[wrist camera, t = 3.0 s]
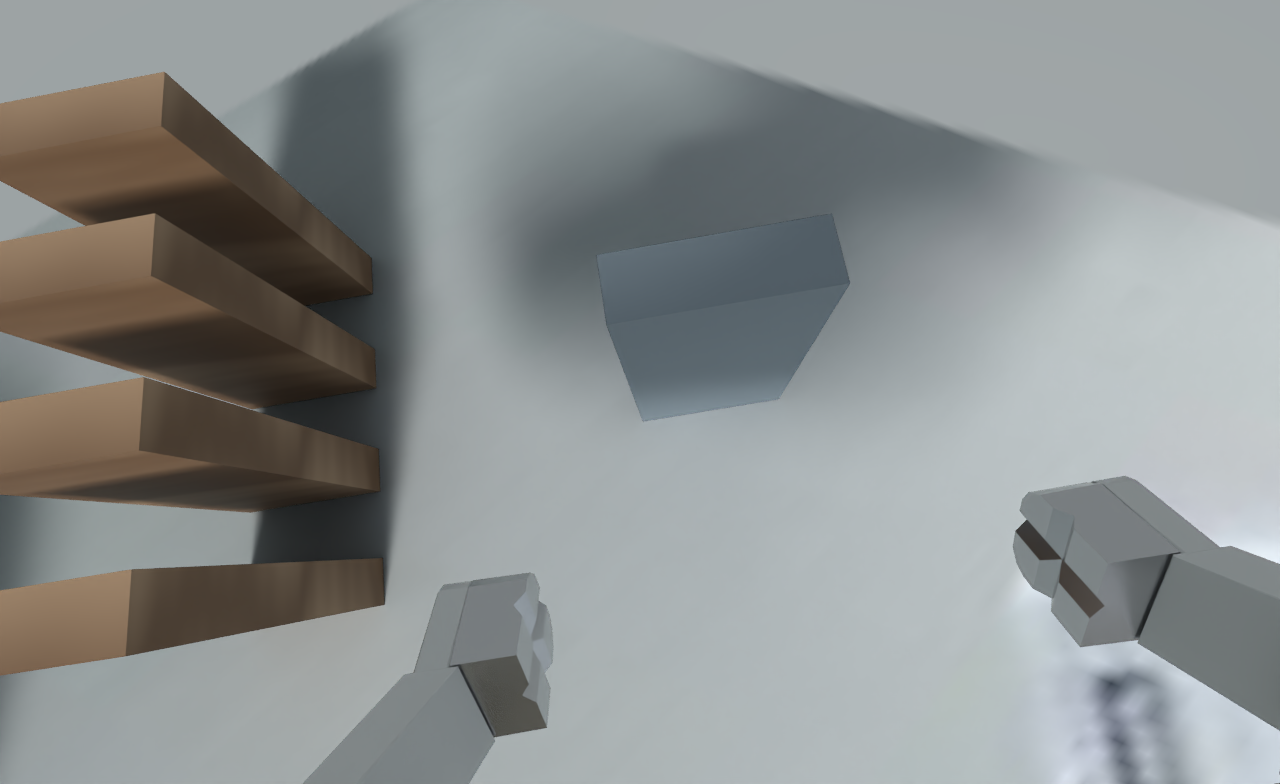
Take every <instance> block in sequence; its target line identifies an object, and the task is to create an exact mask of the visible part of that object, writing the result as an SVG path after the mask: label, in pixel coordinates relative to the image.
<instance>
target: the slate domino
mask: <svg viewBox="0 0 1280 784" xmlns="http://www.w3.org/2000/svg"><path fill="white" fill-rule="evenodd" d="M596 256H597V263H598V270H599V277H600V284H601V291H602V298H603V305H604V311H605V318H606V325H607V328H608V330H609V333H610V336H611V338H612V341H613V343H614V346H615V349H616V351H617V354H618V357H619V359H620V362H621V365H622V367H623V370H624V373H625V375H626V378H627V381H628V383H629V386H630V388H631V391H632V394H633V396H634V399H635V402H636V404H637V407H638V410H639V412H640V415H641V418H642V420H643V421H648V420H655V419H661V418H667V417H673V416H679V415H685V414H691V413H697V412H703V411H709V410H715V409H722V408H728V407H734V406H740V405H746V404H752V403H758V402H764V401H770V400H776V399H779V397H780V396H781V394H782V393H783V391H784V389H785V388H786V386H787V384H788V383H789V381H790V380H791V378H792V376H793V375H794V373H795V372H796V370H797V368H798V367H799V365H800V363H801V362H802V360H803V359H804V357H805V355H806V354H807V352H808V350H809V349H810V347H811V346H812V344H813V342H814V341H815V339H816V338H817V336H818V334H819V333H820V331H821V329H822V328H823V326H824V325H825V323H826V321H827V320H828V318H829V316H830V315H831V313H832V312H833V310H834V308H835V307H836V305H837V304H838V302H839V300H840V299H841V297H842V295H843V294H844V292H845V291H846V289H847V287H848V286H849V284H850V281H849V277H848V273H847V269H846V266H845V262H844V258H843V254H842V250H841V247H840V243H839V239H838V235H837V231H836V227H835V224H834V220H833V216H832V214H826V215H820V216H815V217H809V218H803V219H797V220H792V221H786V222H780V223H775V224H769V225H763V226H758V227H752V228H746V229H741V230H735V231H729V232H724V233H718V234H712V235H707V236H701V237H695V238H689V239H684V240H678V241H672V242H667V243H661V244H655V245H650V246H644V247H638V248H633V249H627V250H621V251H616V252H610V253H604V254H599V255H596Z"/></svg>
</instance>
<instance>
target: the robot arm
mask: <svg viewBox="0 0 1280 784" xmlns="http://www.w3.org/2000/svg"><path fill="white" fill-rule="evenodd" d="M1020 512H1021V513H1022V514H1023V516H1024V517H1025V518H1026V519H1027V520H1026V521H1025V522H1024V523H1023V524H1022V525H1021V526H1020V527H1019V528H1018V529H1017V530H1016V531H1015V536H1014V543H1013V550H1014V554H1015V558H1016V563H1017V565H1018V567H1019V569H1020V571H1021V573H1022V575H1023V576H1024V578H1025V579H1026V580H1027V581H1028V583H1029V584H1030V585H1031V587H1032V588H1033V589H1035V590H1037V591H1039V592H1041V593H1043V594H1045V595H1047V596H1048V597H1050V598H1052V603H1051V612H1052V613H1053V614H1054V615H1055V617H1056V618H1057V619H1058V620H1059V622H1060V623H1061V624H1062V625H1063V627H1064V628H1065V629H1066V630H1067V632H1068V633H1069V634H1070V635H1071V637H1072V638H1073V639H1074V640H1075V641H1076V643H1077V644H1078V645H1079V646H1080V647H1085V646H1093V645H1101V644H1109V643H1117V642H1125V641H1134V640H1138V644H1140V645H1142V646H1143V647H1145V648H1147V649H1148V650H1150V651H1151V652H1153V653H1155V654H1156V655H1158V656H1160V657H1161V658H1163V659H1164V660H1166V661H1168V662H1169V663H1171V664H1173V665H1174V666H1176V667H1177V668H1179V669H1181V670H1182V671H1184V672H1185V673H1187V674H1189V675H1190V676H1192V677H1194V678H1195V679H1197V680H1198V681H1200V682H1202V683H1203V684H1205V685H1207V686H1208V687H1210V688H1211V689H1213V690H1215V691H1216V692H1218V693H1220V694H1221V695H1223V696H1224V697H1226V698H1228V699H1229V700H1231V701H1232V702H1234V703H1236V704H1237V705H1239V706H1241V707H1242V708H1244V709H1245V710H1247V711H1249V712H1250V713H1252V714H1254V715H1255V716H1257V717H1258V718H1260V719H1262V720H1263V721H1265V722H1266V723H1268V724H1270V725H1271V726H1273V727H1275V728H1276V729H1278V730H1279V731H1280V564H1278V563H1275V562H1272V561H1270V560H1267V559H1264V558H1262V557H1259V556H1256V555H1254V554H1251V553H1248V552H1246V551H1243V550H1240V549H1238V548H1235V547H1232V546H1228V547H1219V546H1218V545H1217V544H1215V543H1214V542H1213V541H1212V540H1210V539H1209V538H1208V537H1207V536H1205V535H1204V534H1203V533H1202V532H1200V531H1199V530H1198V529H1197V528H1195V527H1194V526H1193V525H1192V524H1190V523H1189V522H1188V521H1187V520H1185V519H1184V518H1183V517H1182V516H1180V515H1179V514H1178V513H1177V512H1175V511H1174V510H1173V509H1172V508H1170V507H1169V506H1168V505H1167V504H1165V503H1164V502H1163V501H1162V500H1160V499H1159V498H1158V497H1157V496H1155V495H1154V494H1153V493H1152V492H1150V491H1149V490H1148V489H1147V488H1145V487H1144V486H1143V485H1142V484H1141V483H1139V482H1138V481H1136V480H1135V479H1132V478H1129V477H1127V476H1122V477H1116V478H1110V479H1104V480H1099V481H1093V482H1091V483H1081V484H1075V485H1069V486H1063V487H1057V488H1051V489H1045V490H1040V491H1034V492H1028V493H1027V495H1026V496H1025V497H1024V498H1023V499H1022V503H1021V507H1020ZM539 590H540V587H539V584H538V582H537V579H536V577H535V574H533V573H524V574H517V575H509V576H502V577H494V578H487V579H479V580H473V581H469V582H462V583H454V584H446V585H443V587H442V588H441V589H440V591H439V592H438V594H437V597H436V600H435V604H434V607H433V610H432V614H431V617H430V620H429V623H428V627H427V630H426V633H425V637H424V640H423V643H422V647H421V650H420V653H419V656H418V660H417V663H416V666H415V670H414V673H410V674H405V675H404V676H403V677H402V678H401V679H400V680H399V681H398V682H397V683H396V684H395V685H394V686H393V687H392V688H391V689H390V691H389V692H388V693H387V694H386V695H385V696H384V697H383V698H382V699H381V700H380V701H379V702H378V703H377V704H376V706H375V707H374V708H373V709H372V710H371V711H370V712H369V713H368V714H367V715H366V716H365V717H364V718H363V720H362V721H361V722H360V723H359V724H358V725H357V726H356V727H355V728H354V729H353V730H352V731H351V732H350V733H349V735H348V736H347V737H346V738H345V739H344V740H343V741H342V742H341V743H340V744H339V745H338V746H337V747H336V748H335V750H334V751H333V752H332V753H331V754H330V755H329V756H328V757H327V758H326V759H325V760H324V761H323V762H322V763H321V765H320V766H319V767H318V768H317V769H316V770H315V771H314V772H313V773H312V774H311V775H310V776H309V777H308V778H307V780H306V781H305V782H304V783H303V784H469V783H470V781H471V779H472V778H473V776H474V774H475V773H476V771H477V769H478V768H479V766H480V765H481V763H482V761H483V760H484V758H485V756H486V755H487V753H488V752H489V750H490V748H491V747H492V745H493V743H494V742H495V739H494V737H499V736H504V735H510V734H515V733H521V732H527V731H532V730H538V729H543V728H547V722H548V711H549V699H550V686H549V683H548V680H547V678H546V675H545V672H546V671H547V669H548V668H549V667H550V665H551V664H552V661H553V632H552V625H551V620H550V615H549V612H548V609H547V606H546V605H545V604H543V603H541V602H540V601H538V600H539ZM1279 774H1280V773H1279ZM1276 784H1280V783H1276Z"/></svg>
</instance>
